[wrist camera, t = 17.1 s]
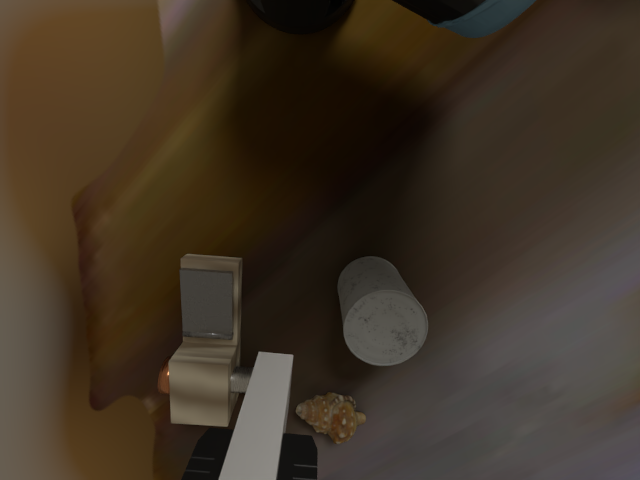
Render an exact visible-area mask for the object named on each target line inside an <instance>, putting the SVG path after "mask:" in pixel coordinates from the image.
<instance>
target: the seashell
mask: <svg viewBox="0 0 640 480" xmlns="http://www.w3.org/2000/svg"><path fill="white" fill-rule="evenodd" d="M355 410H356V404H355V400H354V399H353V398H352V397H351V396H349V395H346V396H344V395H339V394H336V393H331V392H327V394H326V395H322V396H319V395H315V396H314V397H313V398H312V399H310V400H305V401H304V402H303V403H300V404H299V405H298V406H297V408H296V413H297V415H299V416H300V417H301V418H302V419H305V421H306V422H307V423H308V424H310V425H312V426H313V428H314V430H315V431H316V432H317V433H323V434H328V435H329V436H330V437H331V438H332V440H333V442H334V443H335V444H341V443H342V442H346V441H348V440H349V439H350V438H351V437H352V436H353V434H354V432H355V431H356V427H357V426H359V425H361V424H363V423H365V421H366V416H365V415H364V414H363V413H362V412H358V411H355Z"/></svg>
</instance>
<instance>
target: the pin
mask: <svg viewBox="0 0 640 480" xmlns="http://www.w3.org/2000/svg"><path fill="white" fill-rule="evenodd" d="M171 358H172V356H169V357H167V358H166V359H165V361H164V363H163V365H162V367H161V370H160V373H159V378H158V391H159V393H160V394H170V386H169V363H168V362H169V360H170V359H171ZM253 369H254V367H240V366H235V367H234V370H233V372H232V375H231V392H234V393H246V391H247V388H248V385H249V381H250V378H251V375H252V372H253Z"/></svg>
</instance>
